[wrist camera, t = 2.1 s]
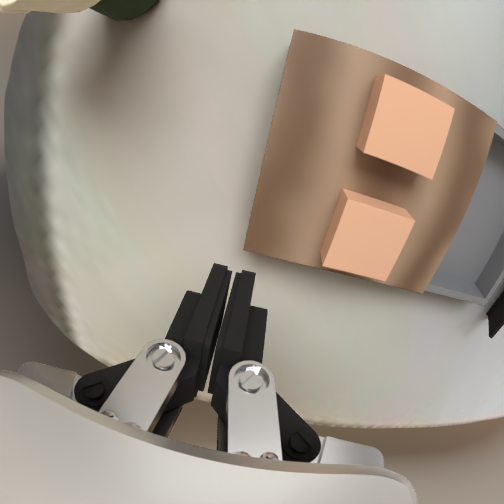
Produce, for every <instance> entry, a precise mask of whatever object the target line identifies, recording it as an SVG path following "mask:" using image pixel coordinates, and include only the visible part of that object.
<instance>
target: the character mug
mask: <svg viewBox="0 0 504 504" xmlns="http://www.w3.org/2000/svg"><path fill="white" fill-rule="evenodd" d="M156 1H157V0H0V12H2V13H5V14H26V13H29V12H30V11H43V12H52V13H60V14H61V13H74V12H81V11H83V10H85V9H87V8H91V9H92V10H94V11H96V12H99V13H101V14H103V15H106V16H108V17H110V18H112V19H115V20H129V19H133V18H135V17H137V16H139V15H141V14H143V13H145V12H146V11H147V10H148V9H149V8H150V7H151V6H152V5H153V4H154V3H155V2H156Z"/></svg>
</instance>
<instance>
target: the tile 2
mask: <svg viewBox="0 0 504 504" xmlns="http://www.w3.org/2000/svg"><path fill="white" fill-rule="evenodd" d="M454 110H455V109H454V108H453V107H451V106H449V105H448V104H446V103H444V102H442V101H441V100H439V99H437V98H435V97H433V96H431V95H429V94H428V93H426V92H424V91H422V90H420V89H418V88H416V87H414V86H411V85H409V84H407V83H405V82H403V81H401V80H398V79H396V78H394V77H392V76H389V75H387V74H382V75H377V76H375V79H374V83H373V87H372V91H371V95H370V99H369V103H368V106H367V110H366V113H365V117H364V121H363V124H362V128H361V131H360V134H359V138H358V141H357V144H356V147H357V148H359V149H360V150H361V151H362V152H363V153H366V154H369V155H372V156H375V157H378V158H380V159H383V160H386V161H388V162H391V163H393V164H396V165H398V166H401V167H403V168H406V169H408V170H411V171H413V172H415V173H418V174H420V175H422V176H425V177H427V178H429V179H431V180H432V179H433V176H434V174H435V171H436V168H437V165H438V163H439V160H440V157H441V154H442V151H443V148H444V145H445V141H446V138H447V135H448V132H449V128H450V125H451V121H452V118H453V114H454Z"/></svg>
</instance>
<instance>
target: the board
mask: <svg viewBox="0 0 504 504" xmlns="http://www.w3.org/2000/svg"><path fill="white" fill-rule="evenodd" d="M382 74H387V75H389V76H392V77H394V78H396V79H398V80H401V81H403V82H405V83H407V84H409V85H411V86H414V87H416V88H418V89H420V90H422V91H424V92H426V93H428V94H429V95H431V96H433V97H435V98H437V99H439V100H441V101H442V102H444V103H446V104H448V105H449V106H451V107H453V108H454V109H455V110H454V114H453V118H452V121H451V125H450V128H449V132H448V135H447V138H446V141H445V145H444V148H443V151H442V154H441V157H440V160H439V163H438V165H437V168H436V171H435V174H434V176H433V179H432V180H431V179H429V178H427V177H425V176H422V175H420V174H418V173H415V172H413V171H411V170H408V169H406V168H403V167H401V166H398V165H396V164H393V163H391V162H388V161H386V160H383V159H380V158H378V157H375V156H372V155H369V154H366V153H363V152H362V151H361V150H360V149H359V148H357V147H356V144H357V141H358V138H359V134H360V131H361V128H362V124H363V121H364V117H365V113H366V110H367V106H368V103H369V99H370V95H371V91H372V87H373V83H374V79H375V76H377V75H382ZM496 125H497V122H496V121H495V120H494V119H492V118H491V117H490V116H488V115H487V114H486V113H484V112H483V111H481V110H480V109H478V108H477V107H476V106H474V105H473V104H471V103H470V102H468V101H466V100H465V99H463V98H462V97H460V96H459V95H457V94H455V93H454V92H452V91H450V90H449V89H447V88H445V87H444V86H442V85H440V84H438V83H436V82H435V81H433V80H431V79H429V78H427V77H425V76H423V75H421V74H419V73H417V72H415V71H413V70H411V69H409V68H407V67H405V66H403V65H401V64H398V63H396V62H394V61H391V60H389V59H387V58H384V57H382V56H379V55H377V54H374V53H372V52H369V51H367V50H364V49H361V48H358V47H355V46H353V45H350V44H347V43H343V42H340V41H337V40H334V39H330V38H327V37H323V36H320V35H316V34H312V33H308V32H304V31H300V30H295V29H294V32H293V36H292V40H291V44H290V48H289V52H288V57H287V61H286V65H285V69H284V73H283V78H282V82H281V86H280V90H279V95H278V99H277V103H276V107H275V112H274V116H273V120H272V125H271V129H270V133H269V138H268V142H267V146H266V151H265V155H264V159H263V164H262V168H261V173H260V177H259V182H258V186H257V190H256V195H255V199H254V204H253V208H252V213H251V217H250V222H249V226H248V231H247V235H246V240H245V244H244V249H243V250H245V251H249V252H253V253H257V254H262V255H266V256H270V257H274V258H278V259H282V260H287V261H291V262H295V263H299V264H303V265H307V266H311V267H316V268H320V269H324V270H328V271H332V272H336V273H340V274H345V275H349V276H353V277H357V278H361V279H365V280H369V281H374V282H378V283H382V284H386V285H390V286H394V287H399V288H403V289H407V290H411V291H415V292H419V293H423V292H424V291H425V289H426V287H427V286H428V284H429V282H430V281H431V279H432V277H433V276H434V274H435V272H436V270H437V269H438V267H439V265H440V263H441V262H442V260H443V258H444V256H445V254H446V252H447V250H448V248H449V247H450V245H451V243H452V241H453V239H454V237H455V235H456V233H457V230H458V228H459V226H460V224H461V222H462V220H463V218H464V215H465V213H466V211H467V209H468V206H469V204H470V202H471V199H472V197H473V194H474V192H475V189H476V187H477V184H478V181H479V179H480V176H481V173H482V170H483V168H484V165H485V162H486V159H487V156H488V153H489V149H490V146H491V143H492V139H493V136H494V132H495V128H496ZM342 188H343V189H347V190H350V191H353V192H356V193H359V194H363V195H366V196H369V197H372V198H375V199H378V200H381V201H384V202H387V203H390V204H392V205H395V206H398V207H401V208H404V209H406V211H407V212H408V213H409V214H410V215H411V217H412V218H413V219H414V220H415V223H414V225H413V227H412V229H411V232H410V234H409V236H408V238H407V240H406V242H405V244H404V246H403V248H402V250H401V252H400V254H399V256H398V258H397V260H396V262H395V264H394V266H393V268H392V270H391V272H390V274H389V276H388V278H387V279H386V281H382V280H378V279H374V278H370V277H366V276H362V275H357V274H353V273H349V272H345V271H341V270H337V269H333V268H329V267H325V266H322V259H321V253H320V250H321V247H322V245H323V242H324V239H325V237H326V234H327V231H328V228H329V226H330V223H331V220H332V217H333V215H334V212H335V209H336V206H337V203H338V200H339V197H340V194H341V191H342Z"/></svg>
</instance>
